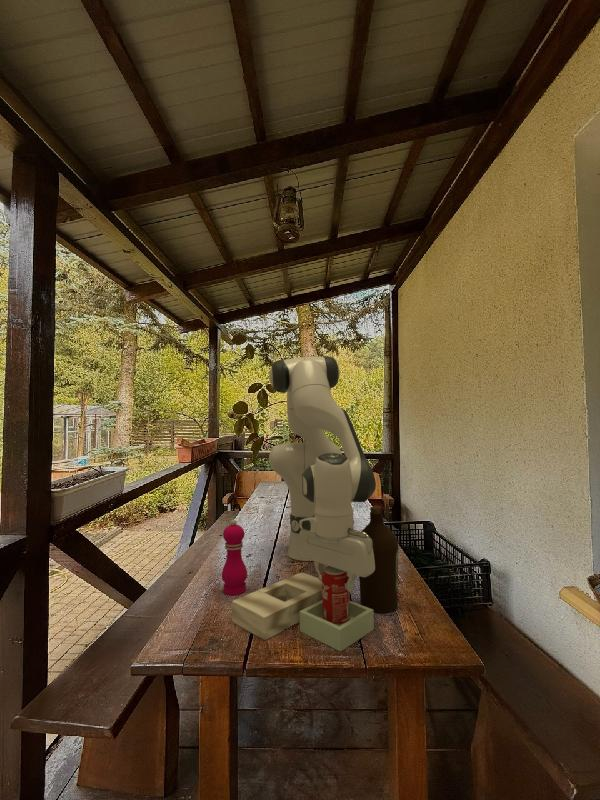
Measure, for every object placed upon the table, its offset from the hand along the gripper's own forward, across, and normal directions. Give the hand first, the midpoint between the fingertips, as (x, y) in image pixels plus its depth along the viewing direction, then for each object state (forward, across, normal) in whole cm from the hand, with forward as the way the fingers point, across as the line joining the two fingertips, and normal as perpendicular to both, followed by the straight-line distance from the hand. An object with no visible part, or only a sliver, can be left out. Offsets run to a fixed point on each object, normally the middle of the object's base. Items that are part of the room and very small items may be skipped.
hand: (335, 585), depth 97 cm
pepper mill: (+10, +35, +3) cm, 36 cm away
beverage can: (+8, 0, 0) cm, 8 cm away
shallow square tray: (+10, 0, 0) cm, 10 cm away
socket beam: (+10, +15, +2) cm, 18 cm away
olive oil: (+10, 0, -17) cm, 20 cm away
